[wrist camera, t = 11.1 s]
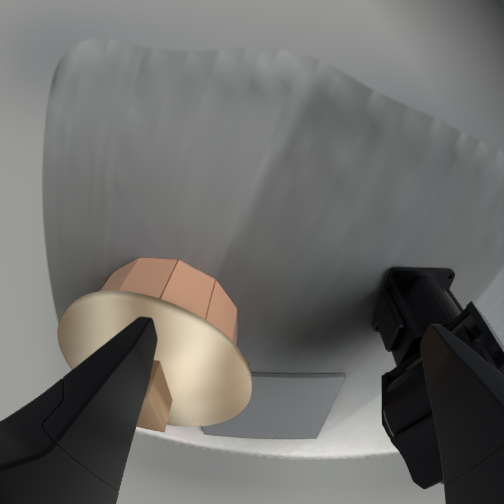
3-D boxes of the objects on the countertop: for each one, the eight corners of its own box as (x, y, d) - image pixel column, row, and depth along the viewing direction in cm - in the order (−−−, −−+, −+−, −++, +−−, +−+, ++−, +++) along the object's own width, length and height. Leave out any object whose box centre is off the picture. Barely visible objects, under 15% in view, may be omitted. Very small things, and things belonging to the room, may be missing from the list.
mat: (345, 373, 28) (345, 376, 27) (316, 435, 36) (316, 438, 35) (189, 367, 28) (188, 371, 28) (204, 431, 36) (204, 434, 36)
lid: (255, 300, 16) (252, 355, 12) (250, 426, 23) (247, 463, 20) (35, 279, 16) (5, 314, 13) (99, 402, 24) (87, 432, 20)
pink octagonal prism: (236, 262, 22) (227, 318, 16) (237, 365, 28) (232, 417, 22) (93, 254, 22) (56, 299, 17) (125, 352, 28) (106, 397, 23)
